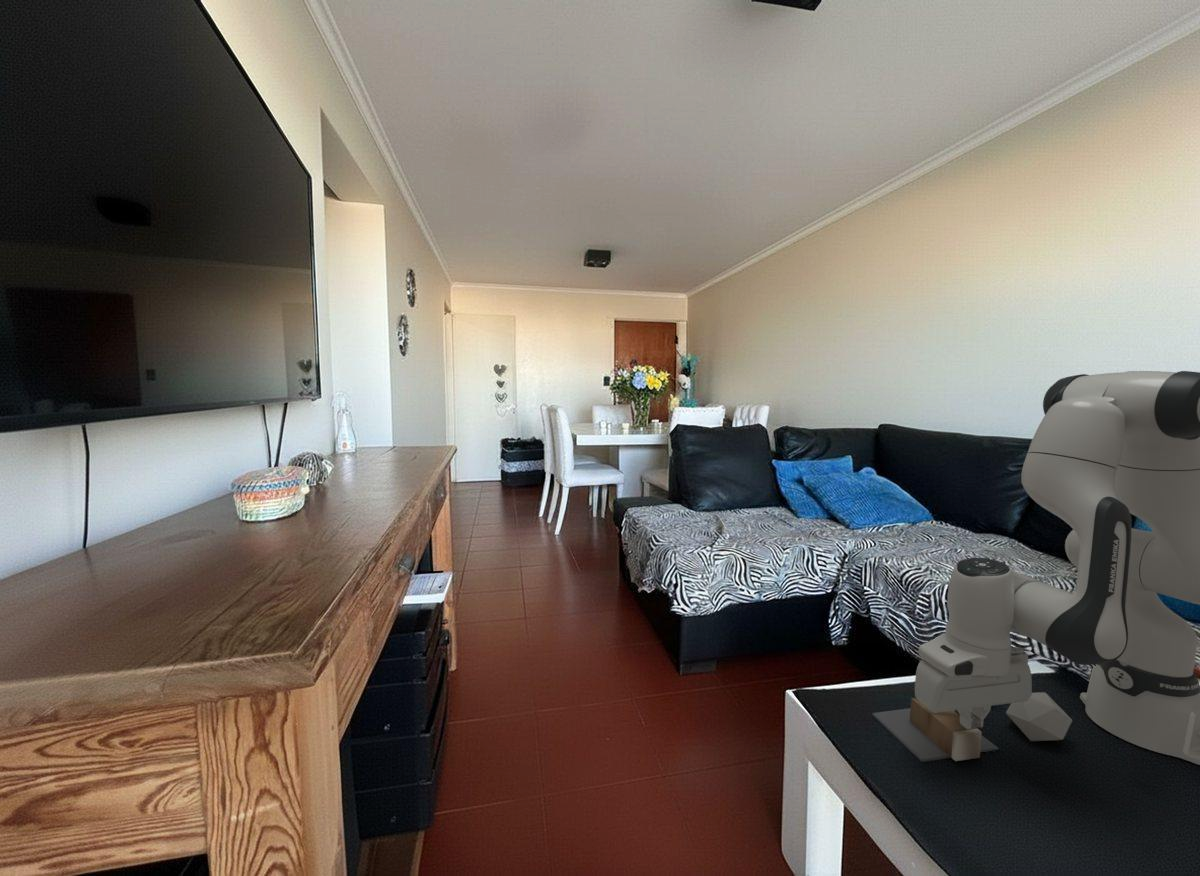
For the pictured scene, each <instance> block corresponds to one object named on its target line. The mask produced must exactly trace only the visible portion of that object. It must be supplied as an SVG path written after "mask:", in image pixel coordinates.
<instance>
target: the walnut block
mask: <svg viewBox="0 0 1200 876" xmlns="http://www.w3.org/2000/svg"><path fill="white" fill-rule="evenodd" d="M910 708H911V709H910V722H911V723H912V724H913V725H914V726H915V727H917V728H918V729H919V730H920V731H921V732H922V733H924V734H925V735H926V736H927V737H928V738H929V739H930V740H932V741H933V742H934V743H935V744H936V745H937V746H939V747H940V748H941V749H942V750H943V751H944V752H945V753H947V754H948V755H949V756H950V757H951V758H950V759H952V760H953V761H955V762H958V761H959V762H960V761H966V760H971V759H973V760H974V759H978V758H979V759H980V758H981V753H980V748H981V735H982V733H983V732H982V731H981V730H980V729H979V728H973V729H966V728H965V727H964V726H962V725H961V723H960V714H959V713H957V712H956V710H954V711H947V712H939V713H933V712H931V711H930V710H929V709H927V708H926V707H925V706H924V705H922V704H921V703H920V702H919V701H918V700H917V698H916V697H911V698H910Z"/></svg>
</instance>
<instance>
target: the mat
mask: <svg viewBox="0 0 1200 876" xmlns="http://www.w3.org/2000/svg"><path fill="white" fill-rule="evenodd" d="M910 709H911V707H908V708H903V709H902V708H901V709H895V710H886V711H879V712H873V713H872V714H871V715H872V717H874V719H875V720H877V721H878V722H879V723H880V724H881V725H882V726H883V727H884V728H885V729H886V730H887V731H888V732H889V733H890V734H891V735H893V736H894V738H896V739H897V741H899V742H900V743H901V744H902V745H903V746H904V747H905V748H907V749H908V751H909V752H910V753H912V754H913V755H914V757H916V758H917V759H918V760H919V761H920V762H921V763H926V762H932V761H939V760H945V759H946V758H947V759H952V758H951V757H950V756H949V755H948V754H947V753H945V752H944V751H943V750H942V749H941V748H940V747H939V746H937V745H936V744H935V743H934V742H933V741H932V740H930V739H929V738H928V737H927V736H926V735H925V734H924V733H922V732H921V731H920V730H919V729H918V728H917V727H915V726H914V725H913V724H912V723H911V722H910ZM992 750H999V747H998V746H997V745H996V744H994V743H993V742H992V741H990V740H989V739H987V738H986V737H985V736H983V735H982V734H981V748H980V752H985V751H992Z"/></svg>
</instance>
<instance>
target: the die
mask: <svg viewBox="0 0 1200 876" xmlns="http://www.w3.org/2000/svg"><path fill="white" fill-rule="evenodd" d="M1005 713H1006V715H1007V716H1008V718H1009V719H1010V720H1011V721H1012V722H1013V724H1015V726H1017V728H1019V729H1020V731H1021V732H1022V733H1023V734H1024V735H1025V736H1026V737H1027V739H1029V741H1030V742H1041V741H1042V742H1043V741H1046V742H1047V741H1049V742H1050V741H1062V740H1064V738H1065V736H1066V735H1067V733H1068V730H1069V728H1070V726H1071V724H1072V722H1073V719H1072V718H1071V717H1070V716H1069V714H1067V713H1066V712H1065V711H1064V710H1063V709H1062V708H1061V707H1060V706H1059V705H1058V704H1057V703H1056V702H1055V701H1054V700H1053V698H1052V697H1051V696H1050V695H1049V694H1047V693H1046V692H1045V691H1044V692H1041V691H1040V692H1032V695H1031V697H1030V698H1029V699H1028V701H1024V702H1016V703H1010V705H1009V706H1008V708H1007V710H1006V712H1005Z"/></svg>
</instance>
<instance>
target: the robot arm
mask: <svg viewBox="0 0 1200 876" xmlns="http://www.w3.org/2000/svg"><path fill="white" fill-rule="evenodd" d="M1042 408H1043V414H1044V416H1043V417H1042V420H1041V422H1040V423H1039V425H1038V427H1037V429H1036V431H1035V433H1034V435H1033V438H1031V439H1032V440H1031V442H1030V444H1029V448H1028V451H1027V453H1026V457H1025V459H1024V462H1023V466H1022V468H1021V469H1022V470H1021V473H1020V474H1021V478H1020V479H1021V485H1022V487H1023V489H1024V490H1025V492H1026V493H1027V495H1028V496H1029V497H1030V498H1031V499H1032V500H1033V501H1034V502H1035V503H1036V504H1038V505H1039V506H1040V507H1041V508H1043V509H1045V510H1046V511H1048V512H1049V513H1051V514H1053V515H1054V516H1057V517H1058V518H1059V519H1061V520H1063V521H1064V522H1065V523H1066V524H1067V525H1069V526H1070V528H1072V530H1070V532H1069V533H1068V534H1067V537H1066V539H1065V542H1064V543H1065V544H1064V550H1065V553H1066V556H1067V558H1068V560H1069V561H1070V562H1071V564H1072V565H1073V566H1075V567H1076V568H1077V575H1076V584H1075V590H1074V591H1073V593H1072V592H1070V591H1067V590H1065V589H1062V588H1060V587H1057V586H1053V585H1051V584H1049V583H1046V581H1045V582H1044V581H1041V580H1039V579H1038V578H1034V577H1032V576H1028V575H1025V574H1023V573H1019V572H1017V571H1015V570H1013V569H1011V568H1010V566H1008V565H1007V564H1006V563H1004V562H1002V561H1000V560H998V559H997V560H996V559H993V558H987V557H969V558H964V559H961V560H959V561H957V562H956V564H955V566H954V568H953V570H952V571H951V575H950V579H949V583H948V589H947V604H946V605H947V607H946V608H947V610H948V620H947V622H946V625H945V632H943V633H941V634H940V635H938V636H937V637H935V638H934V639H931V640H929V641H927V642H925V643H922V644H920V645H919V647H918V656H920V658H921V660H920V662H919V663H918V665H917V667H916V671H915V680H914V696H915V698H917V700H918V701H919V702H920V703H921V704H922V705H924V706H925V707H926V708H927V709H929V710H930V711H931V712H933V713H939V712H947V711H957V712H958V714H959V715H960V723H961V725H962V726H964V727H965V728H966V729H973V728H977V729H979V728H983V727H984V719H986V717H987V715H988V714H989V713H990V711H991V710H992V709H991V708H992V707H993V706H1000V705H1006V704H1011V703H1016V702H1024V701H1028V699H1029V698H1030V697H1031V695H1032V693H1033V686H1032V685H1033V681H1032V670H1031V667H1030V666H1029V656H1028V655H1029V654H1027V652H1026V651H1025V650H1024V649H1022V648H1020V647H1018V646H1017V647H1015V646H1013V647H1012V638H1011V636H1010V633H1014V632H1018V633H1019V634H1021V635H1023V636H1026V637H1027V638H1030V639H1032V640H1034V641H1035V642H1036V643H1037V642H1038V643H1040V644H1042V645H1044V646H1046V647H1048V648H1049V649H1050V650H1051V651H1054V652H1055V653H1056V654H1058V655H1060V656H1062V657H1063V658H1065V659H1068V660H1069V661H1071V662H1072V663H1074V664H1076V665H1081V666H1092V665H1093V667H1092V670H1091V674H1090V679H1089V683H1088V686H1087V692H1080V695H1079V699H1080V700H1081V701H1082V703H1083V704H1084V706H1085V713H1086V715H1087V716H1088V717H1089V719H1091V721H1092V722H1094V723H1095V724H1096V725H1098V726H1099V727H1100V728H1102V729H1103V730H1105V731H1107V732H1109V733H1110V734H1111V735H1114V736H1116V737H1118V738H1119V739H1122V740H1124V741H1126V742H1128V743H1130V744H1132V745H1136V746H1138V747H1140V748H1143V749H1146V750H1149V751H1153V752H1155V753H1159V754H1162V755H1167V756H1172V757H1175V758H1179V759H1182V760H1184V761H1188V762H1191V763H1193V764H1196V765H1199V766H1200V682H1199V680H1200V668H1199V667H1198V666H1195V663H1196V654H1197V649H1198V648H1197V647H1198V636H1197V633H1196V632H1195V630H1194V628H1193V627H1192V625H1190V623H1189V622H1188V621H1186V619H1184V618H1183V617H1182V616H1180V615H1178V614H1177V613H1175V612H1174V611H1173V610H1171V609H1170V608H1169V607H1168V606H1166V605H1165V604H1164V602H1163V601H1162V600H1161V598H1160V597H1159V595H1158V594H1160V595H1164V596H1167V597H1171V598H1174V599H1178V600H1181V601H1184V602H1188V603H1191V604H1195V605H1197V606H1198V605H1199V606H1200V371H1199V372H1198V371H1190V370H1189V371H1188V370H1180V371H1177V372H1173V371H1161V370H1159V371H1158V370H1154V371H1153V370H1127V371H1124V372H1110V373H1109V372H1107V373H1098V374H1096V373H1095V374H1090V375H1089V374H1086V373H1085V374H1083V373H1081V374H1076V375H1071V376H1066V377H1065V376H1064V377H1062V378H1060V379H1058V380H1057V381H1056V382H1054V383H1053V384H1052V385H1050V387H1049V388H1048V389H1047V391H1046V392H1045V394H1044V397H1043V401H1042ZM1131 515H1133V516H1135V517H1137V518H1138V519H1139V520H1141V521H1142V522H1144V523H1145V525H1147V527H1149V528H1150V530H1151V531H1148V530H1143V529H1138V528H1137V529H1136V528H1132V516H1131ZM1094 665H1095V666H1094Z"/></svg>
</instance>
